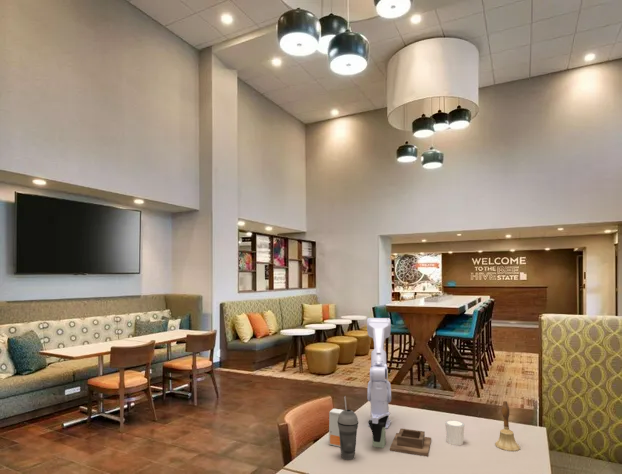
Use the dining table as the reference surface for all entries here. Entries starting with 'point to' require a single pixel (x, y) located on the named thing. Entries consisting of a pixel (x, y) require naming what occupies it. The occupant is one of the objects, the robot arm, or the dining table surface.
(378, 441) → the robot arm
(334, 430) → the skincare box
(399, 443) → the well stand
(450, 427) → the white ribbed cylinder
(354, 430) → the beverage cup
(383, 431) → the block
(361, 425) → the dining table surface
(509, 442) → the hand bell
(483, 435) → the dining table surface
